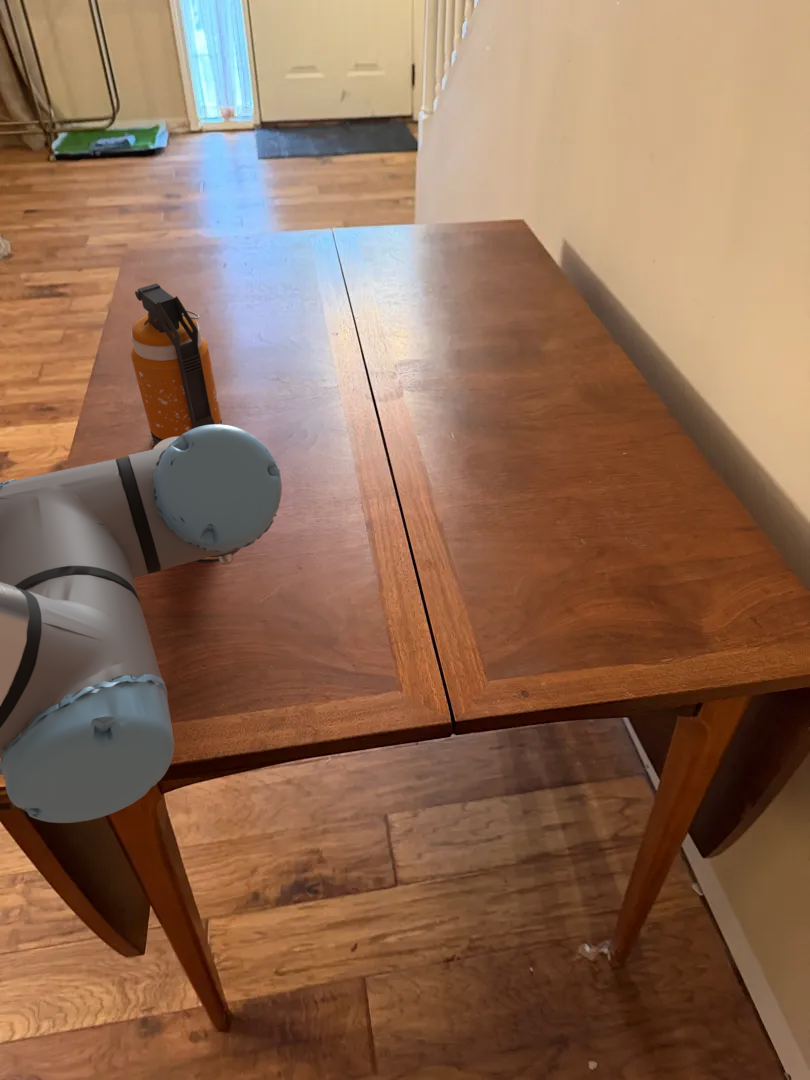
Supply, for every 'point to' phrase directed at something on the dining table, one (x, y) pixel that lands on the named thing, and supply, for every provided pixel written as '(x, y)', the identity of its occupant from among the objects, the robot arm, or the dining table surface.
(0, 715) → the robot arm
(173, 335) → the canister
